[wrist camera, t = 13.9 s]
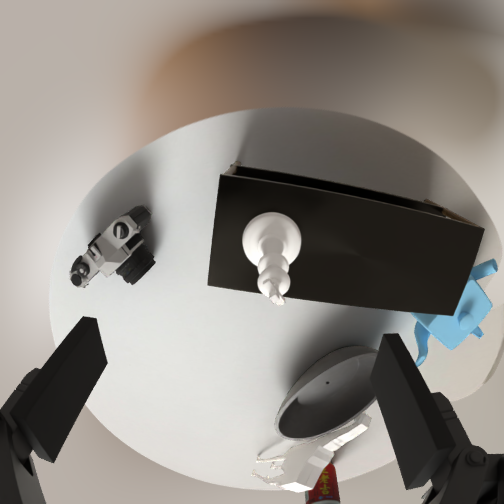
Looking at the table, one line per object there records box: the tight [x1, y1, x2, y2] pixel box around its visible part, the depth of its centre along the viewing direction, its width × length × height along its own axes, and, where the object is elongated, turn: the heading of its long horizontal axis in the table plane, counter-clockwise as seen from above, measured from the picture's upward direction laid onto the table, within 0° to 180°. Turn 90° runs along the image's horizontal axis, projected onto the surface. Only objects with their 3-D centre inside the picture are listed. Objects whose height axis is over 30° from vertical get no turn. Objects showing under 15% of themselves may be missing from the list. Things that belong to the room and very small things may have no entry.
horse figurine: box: [251, 411, 372, 492], centre depth 52 cm, size 5×16×25 cm
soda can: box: [305, 461, 340, 504], centre depth 54 cm, size 7×7×12 cm
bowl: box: [275, 346, 378, 440], centre depth 46 cm, size 12×22×6 cm, turn 143°
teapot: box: [411, 259, 498, 367], centre depth 38 cm, size 18×14×10 cm
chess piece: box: [242, 212, 301, 306], centre depth 23 cm, size 5×5×10 cm
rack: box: [207, 161, 485, 316], centre depth 34 cm, size 26×10×13 cm, turn 82°
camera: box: [70, 205, 156, 288], centre depth 39 cm, size 13×8×9 cm, turn 132°
